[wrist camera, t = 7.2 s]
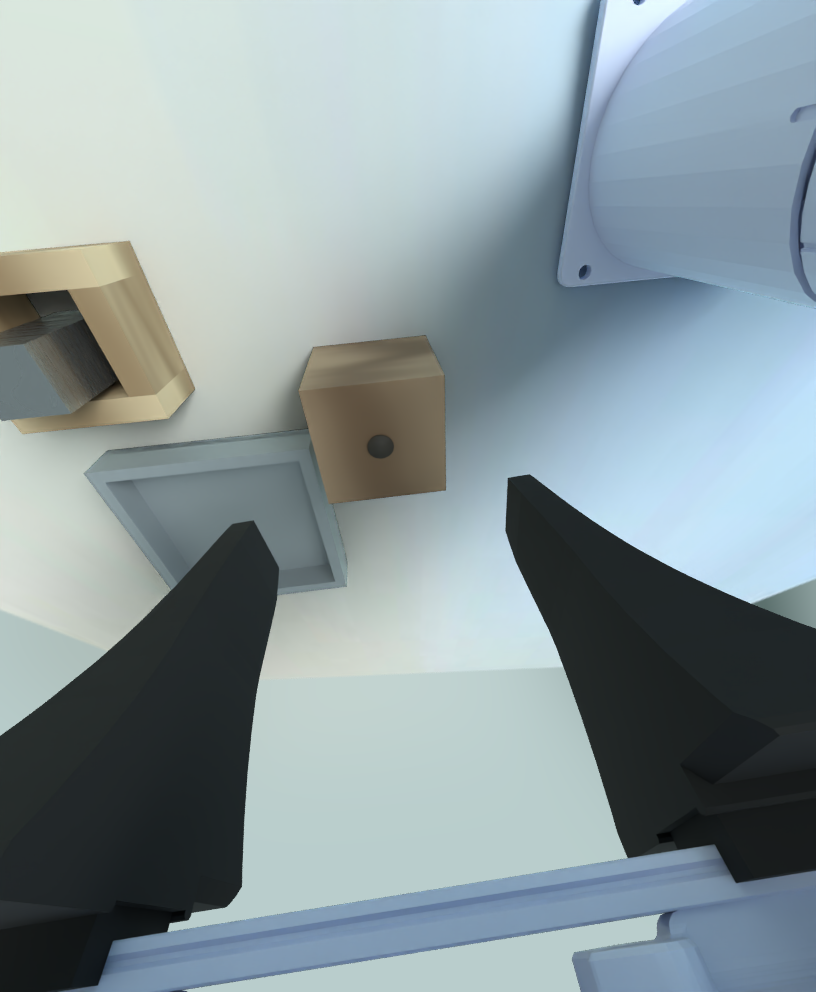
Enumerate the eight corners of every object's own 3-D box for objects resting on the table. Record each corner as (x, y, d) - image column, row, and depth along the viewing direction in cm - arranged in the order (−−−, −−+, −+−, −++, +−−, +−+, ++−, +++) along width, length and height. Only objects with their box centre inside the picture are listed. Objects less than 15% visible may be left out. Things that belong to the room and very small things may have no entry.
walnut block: (425, 334, 17) (444, 375, 13) (429, 433, 20) (446, 491, 16) (313, 346, 16) (298, 392, 12) (335, 444, 20) (328, 505, 16)
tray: (313, 428, 19) (308, 448, 17) (347, 562, 25) (346, 586, 24) (107, 450, 18) (83, 473, 17) (195, 580, 25) (183, 606, 23)
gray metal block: (113, 306, 15) (23, 344, 11) (141, 362, 16) (71, 413, 12) (56, 312, 15) (-55, 352, 11) (90, 367, 16) (2, 420, 12)
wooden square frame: (129, 241, 13) (80, 248, 11) (195, 388, 17) (168, 418, 15) (-31, 255, 13) (-115, 266, 11) (69, 401, 17) (22, 433, 14)
